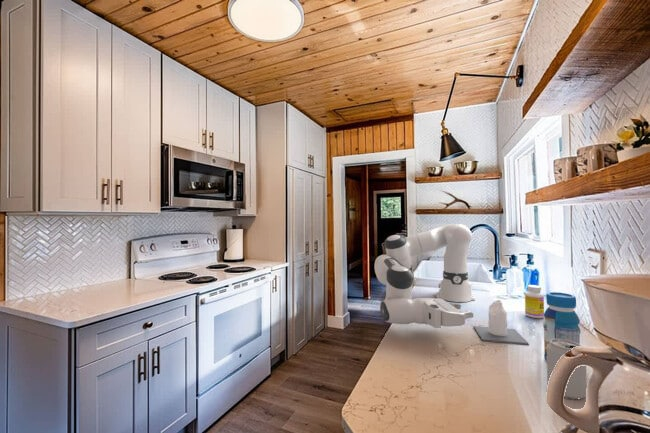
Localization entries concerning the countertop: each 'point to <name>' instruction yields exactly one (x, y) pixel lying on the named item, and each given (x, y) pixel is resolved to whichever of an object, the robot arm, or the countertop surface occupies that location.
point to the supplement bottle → (534, 302)
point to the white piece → (497, 319)
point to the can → (578, 378)
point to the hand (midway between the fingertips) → (465, 310)
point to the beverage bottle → (560, 319)
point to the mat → (509, 338)
